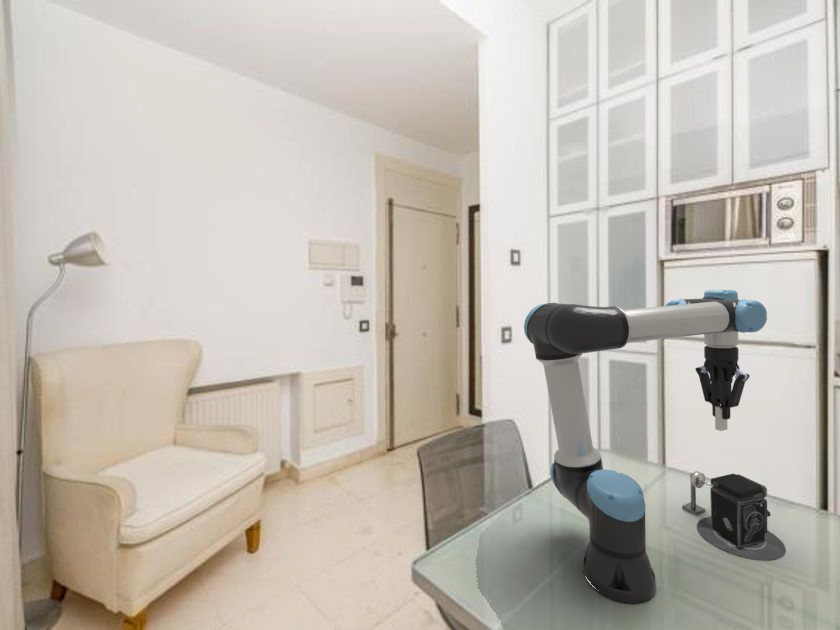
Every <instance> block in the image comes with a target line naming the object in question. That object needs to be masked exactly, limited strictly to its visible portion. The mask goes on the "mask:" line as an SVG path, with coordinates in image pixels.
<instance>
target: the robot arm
mask: <svg viewBox="0 0 840 630" xmlns="http://www.w3.org/2000/svg"><path fill="white" fill-rule="evenodd" d="M767 314H768V311H767V308H766V307H765V305H764V304H763V303H762V302H760V301H758V300H755V299H754V300H752V299H751V300H750V299H746V298H745V299H739V295H738V292H737V291H736V290H734V289H713V290H711V289H710V290H706V291H704V293H703V297H701V298H684V299H683V298H679V299H673V300H670V301H668V302H667V303H666V304H665V305H664V306H653V307H652V306H651V307H642V308H641V307H640V308H631V309H622V308H620V307H618V306H592V305H581V304H577V303H576V304H574V303H571V304H570V303H557V302H546V303H542V304H538V305H536V306H534V307H532V309H531V310H530V311H529V312H528V314H527V315H526V316H525V320H524V324H523V331H524V334H525V337H526V338H527V340H528V341H529V342H530V343H531V344H532V345H533V349H534V354H535V359H536V361H538V362H540V363H542V365H543V369H544V376H545V381H546V387H547V390H548V391H547V393H548V398H549V403H550V404H549V405H550V407H551V414H552V419H553V424H554V426H553V427H554V431H555V435H556V441H557V447H558V449H557V450H556V451H555V452H554V454H553V458H554V459H553V462H552V463H551V467H550V478H551V481H552V483H553V486H555V488H556V489H557V491H558V492H559V494H560V495H562V497H564V498H565V499H566V500H567V501H569V503H571V505H573V507H575V508H576V509H577V510H578V511H579V512H580V513H581V514H582V515H584V517H585V518H587V520H588V524H589V525H588V527H589V542H588V545H587V547H586V551H585V554H584V555H583V556H584V557H583V561H582V572H583V571H584V573H583V575H584V574H585V576H586V577H587V579H588V580H589V581H590V582H591V584H592V585H593V586H594V587H595V588H596V589H597V590H599V592H600V593H602V594H603V595H602V594H601V595H602V596H604V597H606V598H608V599H610V600H612V601H616V602H620V601H621V603H624V602H629V603H628V604H641V603H643V602H644V603H645V602H647V601H649V600H650V599H652V598H653V597H654V596H655V594H656V590H657V581H656V575H655V572H654V569H653V568H652V565H651V562H650V559H649V556H648V554H647V550H646V549H647V547H646V546H647V545H646V502H645V496H644V491H643V489H642V486H640V484H639V483H638V482H637V481H636V480H635V479H634V478H633V477H631V476H629V475H628V474H625V473H623V472H617V470H612V469H604V466H603V461H602V455H601V452H600V451H599V449H597V448H596V447H594V444H593V437H592V434H591V433H592V432H591V428H590V427H591V426H590V421H589V416H588V410H587V405H586V404H587V403H586V398H585V394H584V387H583V382H582V374H581V369H580V364H579V359H580V358H581V357H582V356H583V354H589V353H595V352H602V351H609V350H619V349H623V348H624V347H625V346H626V345H627V344H631V343H637V342H638V343H639V342H647V341H655V340H656V341H657V340H666V339H674V338H683V337H691V336H701V335H703V342H704V343H703V344H705V346H704V348H703V349H704V353H703V354H704V357H703V358H704V359H705V360H704V363H703V365H702V366H699V367H695V372H696V373H697V375H698V377H699V381H700V385H701V390H702V395H703V399H704V402H706V403H709V404H711V406H712V408H711V409H712V416H713V417H714V419H715V420H714V421H715V422H714V424H715V425H714V429H715V431H716V430H717V431H720V432H722V431H726V430H728V420H730V419H731V408H735V407H738V406H739V405H740V401H741V398H742V395H743V391H744V387H745V386H746V385H745V384H746V382H747V380H749V378H750V374H748V373H744V372H743V371H742V370H740V366H739V363H738V361H739V348H738V346H737V345H739V333H744V334H745V333H757V332H759V331H761V330H762V329H763V328H764V327H765V325H766V324H767V320H768V315H767ZM733 377H734V379H733ZM733 380H734V381H733ZM732 383H733V385H732ZM599 592H598V593H599ZM600 593H599V594H600Z"/></svg>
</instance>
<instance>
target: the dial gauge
mask: <svg viewBox="0 0 840 630" xmlns="http://www.w3.org/2000/svg"><path fill="white" fill-rule="evenodd" d="M689 476H690V477H689V478H690V502H688V503H685V504H683V505H682V507H681V508H682V510H684V511H686V512H688V513H690V514H692V515H694V516H698V515H701V514H704V513H706V508H705V507H702V506H700V505H698V504H697V496H696V495H697V493H696V492H697V490H696V488H697V489H701V488H703V487H704V485H705V484H706V485H708V486H710V487H713V486H714V485H712V484H711V482H710V483H709V482H708V481H706V476H705V474H704V473H703V472H701V471H698V470H696V471H694V472H693V473H692V472H691V473H690V475H689Z"/></svg>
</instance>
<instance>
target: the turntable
mask: <svg viewBox="0 0 840 630" xmlns="http://www.w3.org/2000/svg"><path fill="white" fill-rule="evenodd" d="M696 530H697V532H698V534H699V535H700V537H702V539H703V540H705V541H706V542H707V543H709V544H710V545H711V546H714V547H715V548H717V549H719V550H720V551H723V552H726V553H728V554H730V555H732V556H733V555H734V556H736V557H739V558H744V559H747V560H748V559H749V560H754V561H763V562H764V561H774V560H778V558H779V559H781V558H782V557H784V556H785V554H786V546H785V544H784V542H783V541H782V540H781V539H780V538H779V537H778V536H777V535H775V534H774V533H772V532H771V531H769V530H768V529H767V533H766V534H765V542H763V543H759V544H754V545H750V546H745V547H739V546H738V545H737V544H736V543H734V542H733V541H731V540H730V539H728V538H726V537H725V536H723V535H722V534H720V533H717V532H716V531H715V530H714V529H712V527H711V516H706V517H703V518H701V519H699V520H698V521H697V523H696Z"/></svg>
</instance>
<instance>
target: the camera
mask: <svg viewBox="0 0 840 630" xmlns="http://www.w3.org/2000/svg"><path fill="white" fill-rule="evenodd" d="M710 484H712V485H714V486H713V487H712V486H710V488H709V489H710V490H709V491H710V492H709V493H710V517H711V527H712V529H714V530H715V531H716V532H717V533H720V534H722V535H723V536H725V537H726V538H728V539H730V540H731V541H733V542H734V543H736V544H737V545H738V546H739V547H745V546H750V545H754V544H759V543H763V542H765V534H766V533H767V530H768V517H769V518H770V516H771V512H770V511H769V510H768V500H767V499H766V497H768V488H767V487H766V485H763V484H761V483H759V482H757V481H755V480H752V479H750V478H748V477H746V476H743V475H741V474H736V473H730V474H729V473H728V474H727V475H726V474H725V475H721V476H717V477H712V478H710Z"/></svg>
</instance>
